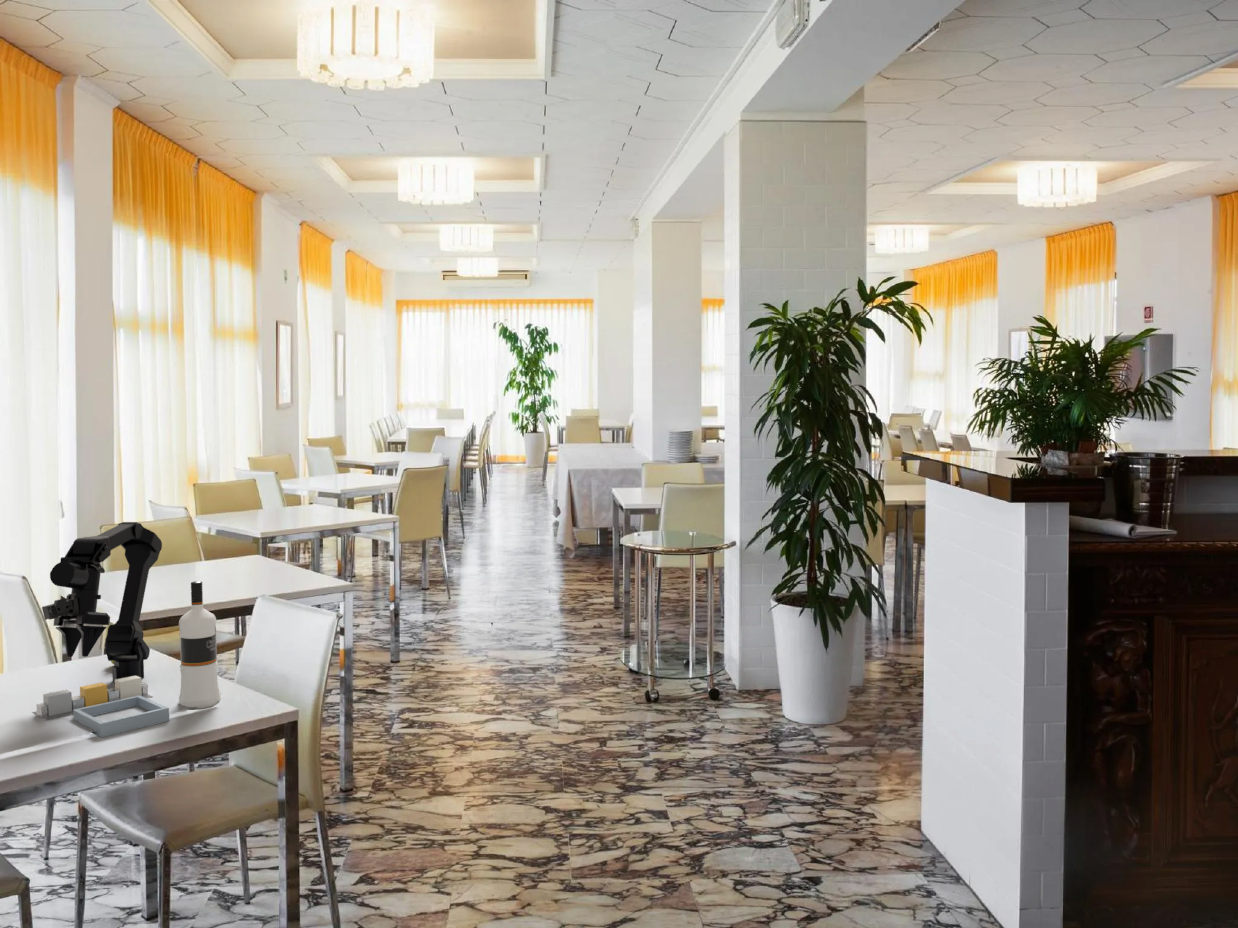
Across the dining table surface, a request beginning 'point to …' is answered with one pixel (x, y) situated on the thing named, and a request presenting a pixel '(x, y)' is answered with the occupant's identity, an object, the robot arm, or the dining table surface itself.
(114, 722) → the tray
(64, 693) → the block
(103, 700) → the block
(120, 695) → the block
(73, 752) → the dining table surface
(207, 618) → the vodka
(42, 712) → the board
